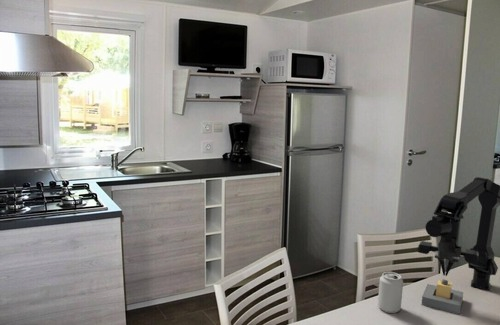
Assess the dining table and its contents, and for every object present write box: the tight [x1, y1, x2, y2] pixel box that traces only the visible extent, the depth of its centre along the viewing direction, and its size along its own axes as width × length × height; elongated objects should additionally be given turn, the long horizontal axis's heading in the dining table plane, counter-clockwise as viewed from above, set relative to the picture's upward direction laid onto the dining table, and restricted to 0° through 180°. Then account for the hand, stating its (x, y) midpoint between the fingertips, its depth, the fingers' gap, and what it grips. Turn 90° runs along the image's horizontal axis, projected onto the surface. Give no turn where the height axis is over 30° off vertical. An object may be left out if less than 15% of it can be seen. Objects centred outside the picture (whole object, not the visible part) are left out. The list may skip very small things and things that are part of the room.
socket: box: [421, 283, 464, 315], centre depth 155 cm, size 12×12×3 cm
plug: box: [436, 279, 453, 299], centre depth 154 cm, size 4×4×8 cm
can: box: [377, 271, 404, 314], centre depth 148 cm, size 8×8×12 cm
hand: (445, 275), depth 153 cm, fingers closed
